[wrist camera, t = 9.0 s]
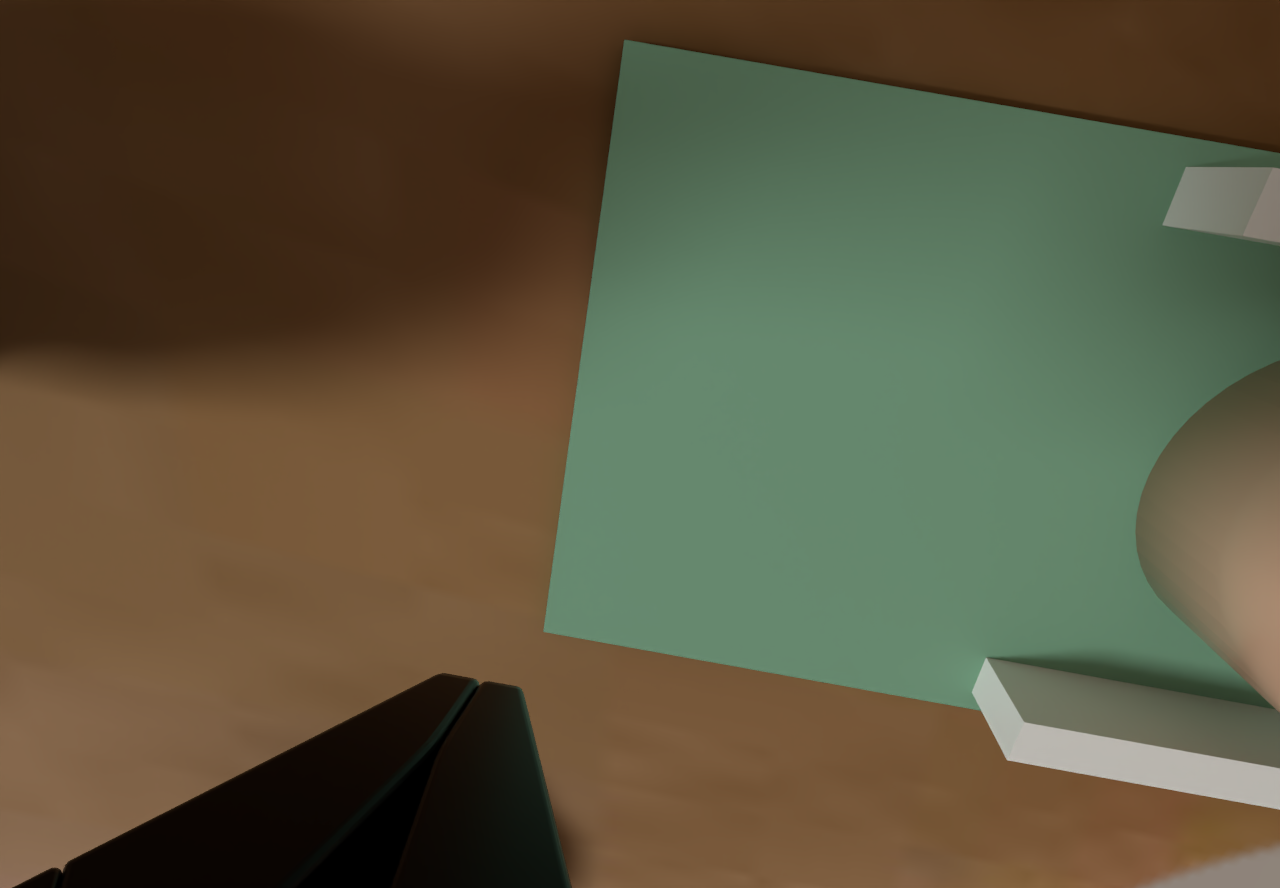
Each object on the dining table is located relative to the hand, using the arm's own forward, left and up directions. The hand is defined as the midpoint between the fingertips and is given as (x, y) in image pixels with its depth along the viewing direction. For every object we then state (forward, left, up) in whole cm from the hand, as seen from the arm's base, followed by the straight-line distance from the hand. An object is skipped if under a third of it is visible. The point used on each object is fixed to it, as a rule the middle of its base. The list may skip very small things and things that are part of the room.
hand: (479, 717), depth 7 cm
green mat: (+8, +8, -12) cm, 17 cm away
